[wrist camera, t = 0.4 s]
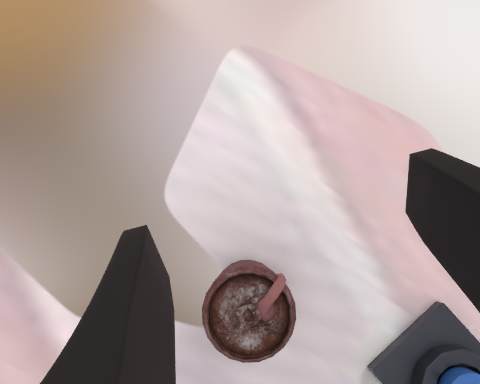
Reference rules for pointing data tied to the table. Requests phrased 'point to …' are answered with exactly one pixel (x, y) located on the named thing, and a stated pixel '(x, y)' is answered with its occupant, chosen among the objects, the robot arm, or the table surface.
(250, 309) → the can
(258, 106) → the table surface
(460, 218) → the robot arm
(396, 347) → the button base
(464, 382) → the blue button cap
